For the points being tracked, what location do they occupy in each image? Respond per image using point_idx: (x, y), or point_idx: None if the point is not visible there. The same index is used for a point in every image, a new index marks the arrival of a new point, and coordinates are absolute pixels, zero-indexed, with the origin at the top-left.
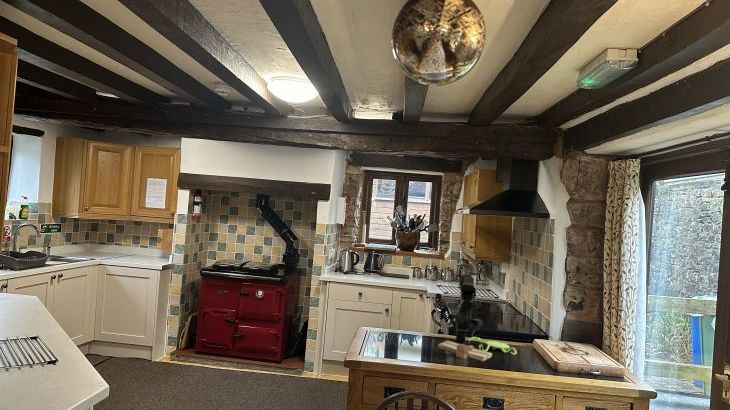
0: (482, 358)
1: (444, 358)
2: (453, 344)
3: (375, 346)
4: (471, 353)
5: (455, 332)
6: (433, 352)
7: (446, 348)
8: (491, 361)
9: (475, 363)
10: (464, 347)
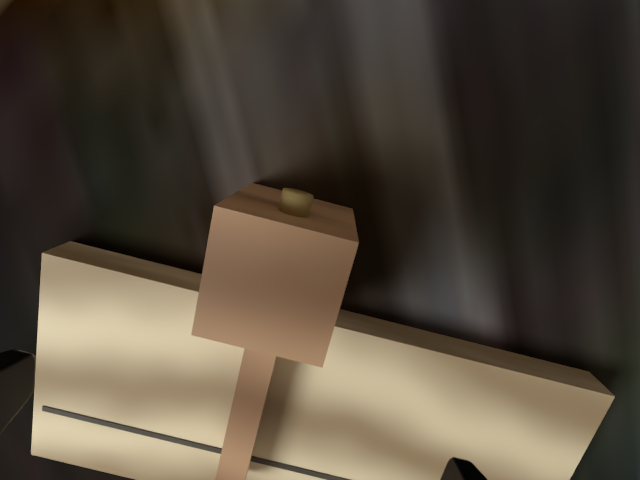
0: (60, 251)
1: (459, 24)
2: None
3: None
4: (194, 310)
5: (471, 468)
6: (620, 175)
7: (495, 357)
8: (6, 290)
9: (103, 102)
10: (228, 218)
